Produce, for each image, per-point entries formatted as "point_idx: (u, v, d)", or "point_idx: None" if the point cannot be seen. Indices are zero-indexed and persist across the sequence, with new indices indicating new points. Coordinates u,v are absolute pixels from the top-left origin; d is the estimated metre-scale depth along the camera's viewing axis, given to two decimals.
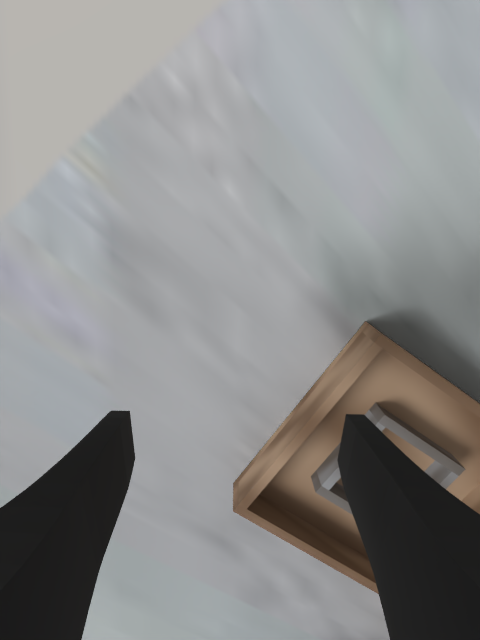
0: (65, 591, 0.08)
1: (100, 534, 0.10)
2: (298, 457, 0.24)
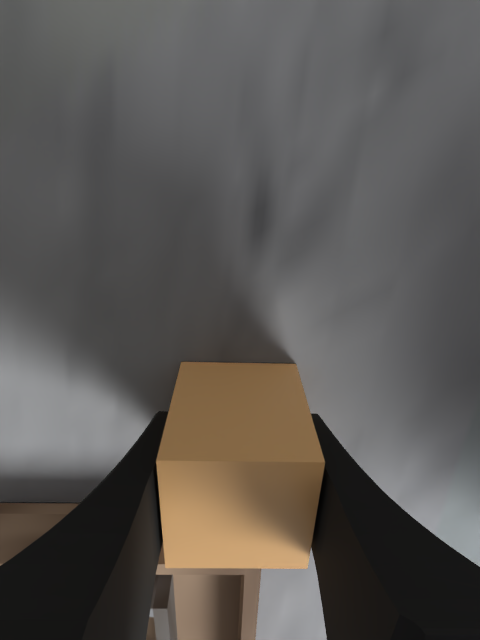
0: (137, 591, 0.08)
1: (157, 534, 0.10)
2: None
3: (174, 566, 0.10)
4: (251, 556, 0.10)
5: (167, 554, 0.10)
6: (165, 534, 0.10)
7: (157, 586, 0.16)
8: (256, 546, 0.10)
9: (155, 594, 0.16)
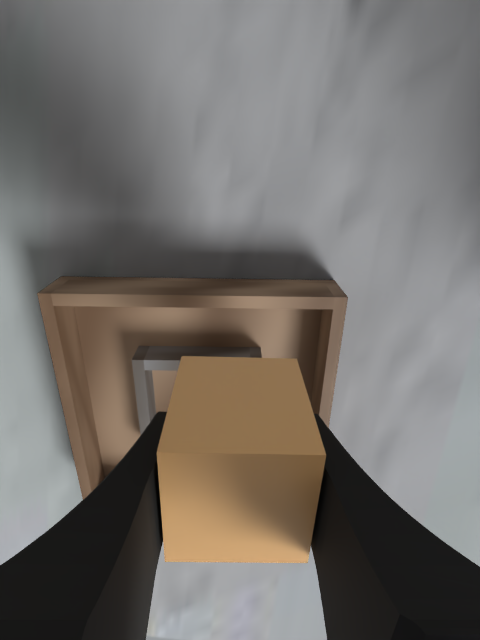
0: (137, 591, 0.08)
1: (157, 534, 0.10)
2: None
3: (174, 560, 0.10)
4: (251, 551, 0.10)
5: (167, 547, 0.10)
6: (165, 527, 0.10)
7: (249, 354, 0.20)
8: (256, 540, 0.10)
9: (250, 355, 0.19)
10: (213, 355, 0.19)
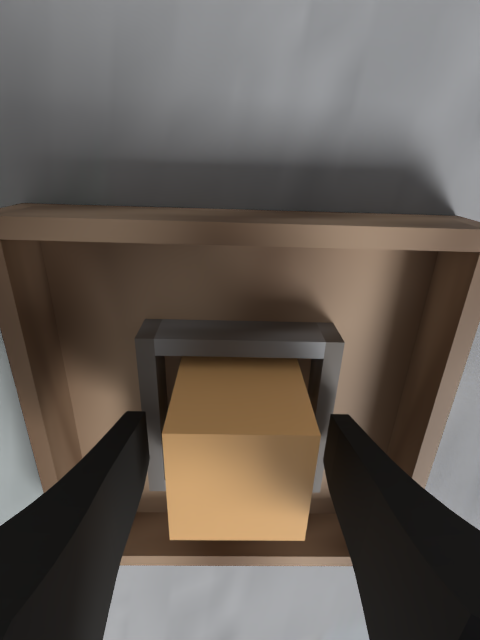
0: (89, 591, 0.08)
1: (119, 534, 0.10)
2: None
3: (178, 538, 0.11)
4: (251, 528, 0.11)
5: (171, 526, 0.11)
6: (170, 506, 0.10)
7: (319, 332, 0.12)
8: (256, 518, 0.11)
9: (322, 334, 0.12)
10: (264, 333, 0.12)
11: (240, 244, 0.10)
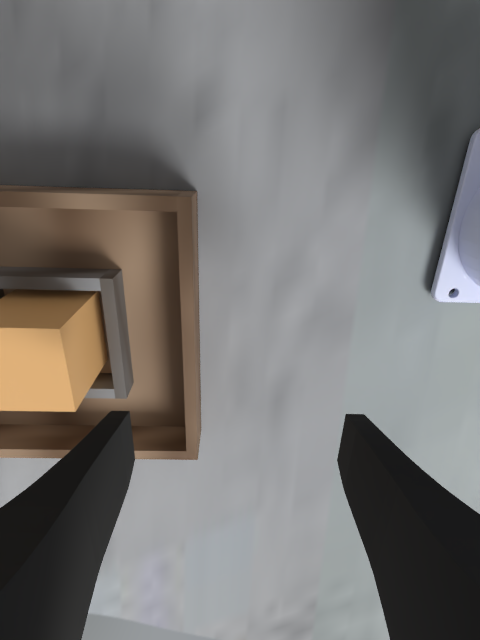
0: (65, 591, 0.08)
1: (100, 534, 0.10)
2: (124, 404, 0.21)
3: None
4: (35, 401, 0.16)
5: None
6: None
7: (106, 275, 0.18)
8: (36, 393, 0.16)
9: (103, 274, 0.17)
10: (61, 274, 0.17)
11: (15, 206, 0.15)
